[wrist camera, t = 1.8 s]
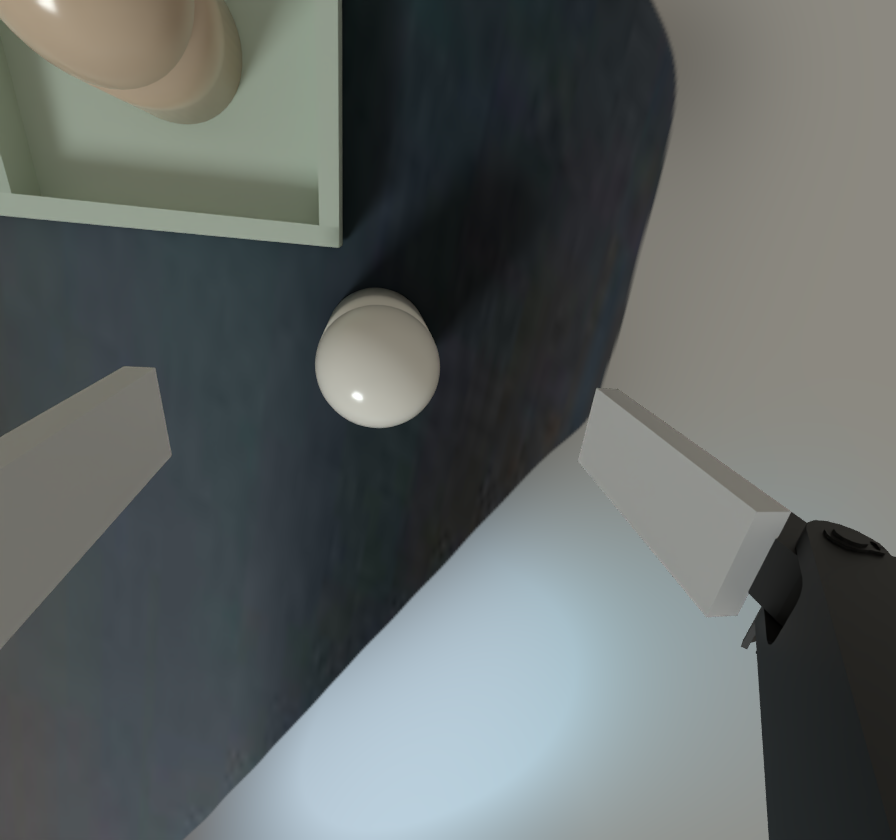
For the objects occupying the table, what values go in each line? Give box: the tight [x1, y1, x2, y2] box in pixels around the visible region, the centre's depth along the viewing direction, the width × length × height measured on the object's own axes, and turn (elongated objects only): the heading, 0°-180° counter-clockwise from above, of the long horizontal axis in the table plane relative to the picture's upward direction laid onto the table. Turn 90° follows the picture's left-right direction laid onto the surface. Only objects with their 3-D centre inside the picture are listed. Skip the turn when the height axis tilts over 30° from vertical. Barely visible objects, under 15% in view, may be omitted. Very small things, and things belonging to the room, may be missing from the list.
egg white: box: [315, 288, 440, 428], centre depth 19 cm, size 5×5×8 cm
